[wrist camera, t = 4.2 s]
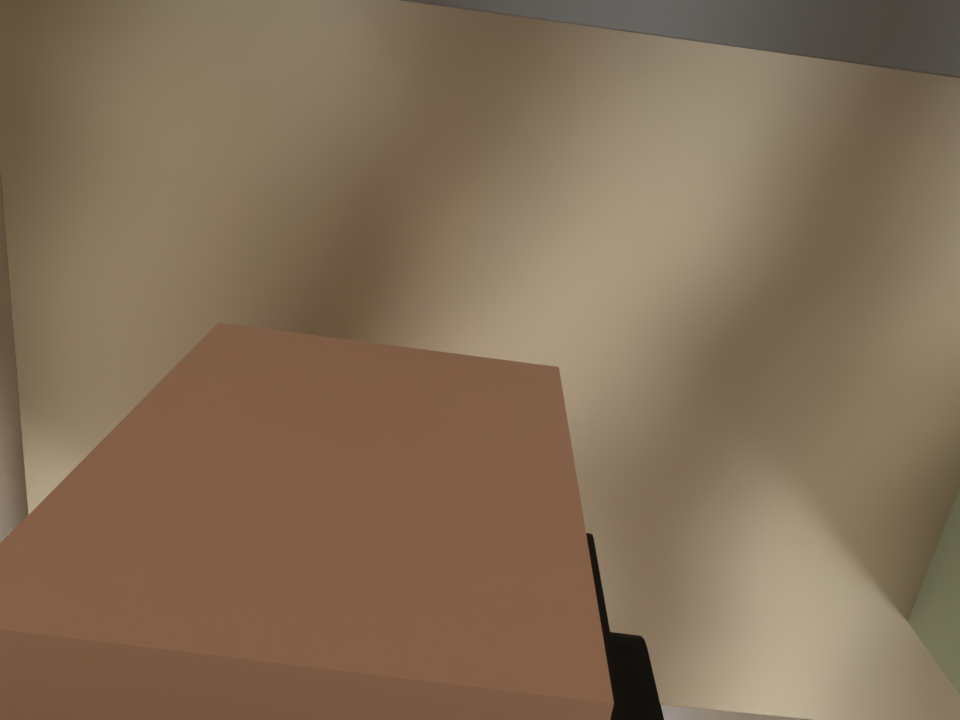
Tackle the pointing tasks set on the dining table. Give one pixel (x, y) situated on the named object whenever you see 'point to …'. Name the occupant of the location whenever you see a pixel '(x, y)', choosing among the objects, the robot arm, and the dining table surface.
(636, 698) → the robot arm
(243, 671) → the salmon block
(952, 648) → the green cuboid
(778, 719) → the dining table surface
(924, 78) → the shelf board
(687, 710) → the dining table surface
